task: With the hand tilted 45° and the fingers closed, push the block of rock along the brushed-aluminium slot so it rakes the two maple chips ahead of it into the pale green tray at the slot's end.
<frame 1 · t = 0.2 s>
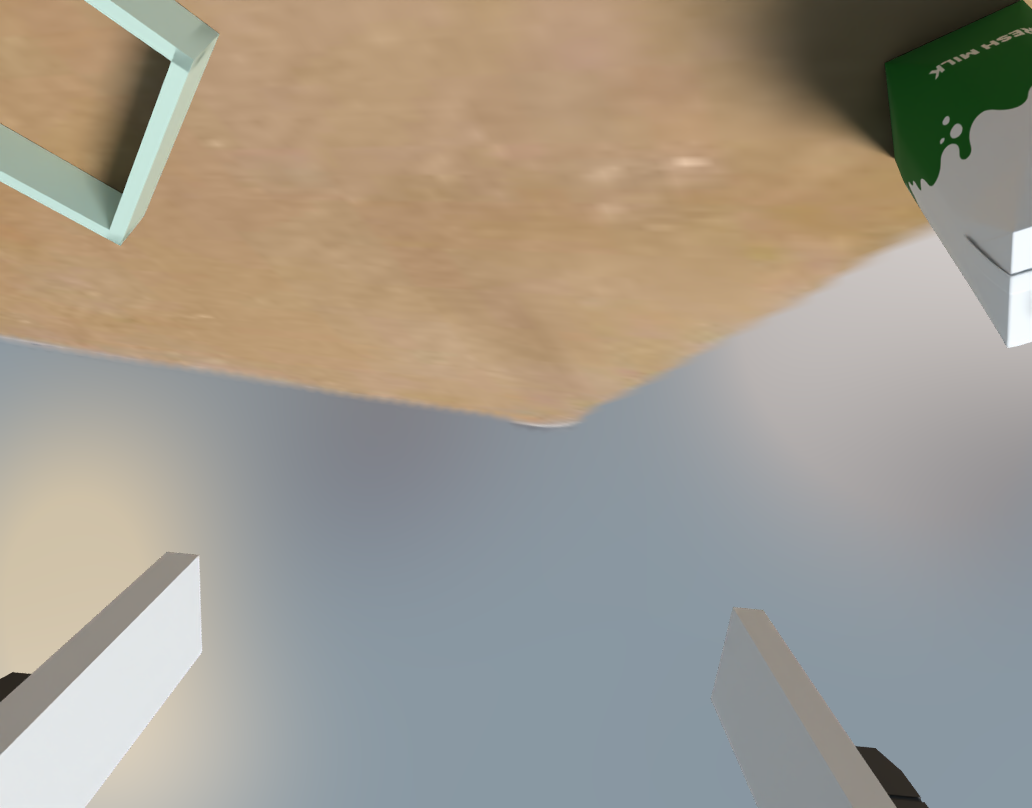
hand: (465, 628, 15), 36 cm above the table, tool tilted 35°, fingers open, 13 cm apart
tray pen: (69, 67, 40), on the table
milk carton: (950, 84, 37), on the table
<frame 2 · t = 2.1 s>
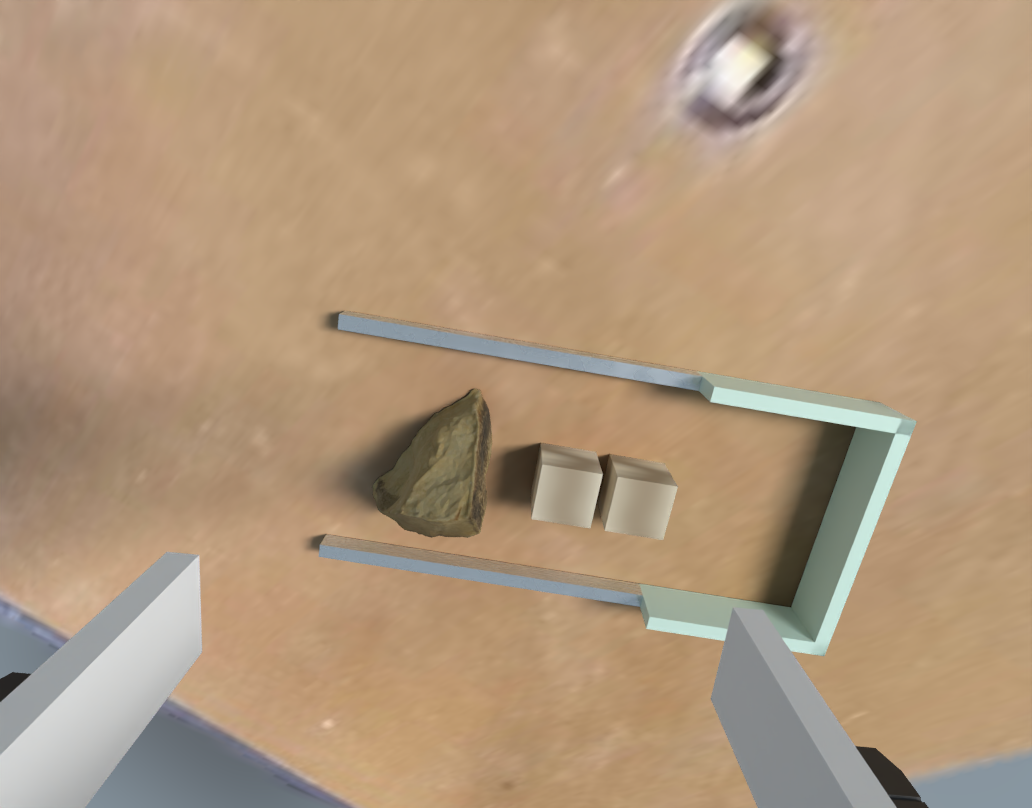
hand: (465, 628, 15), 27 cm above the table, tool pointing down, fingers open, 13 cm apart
tray pen: (744, 502, 43), on the table
slot rails: (501, 462, 43), on the table
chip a: (562, 472, 43), on the table
rock: (432, 450, 43), on the table
chip b: (630, 483, 43), on the table
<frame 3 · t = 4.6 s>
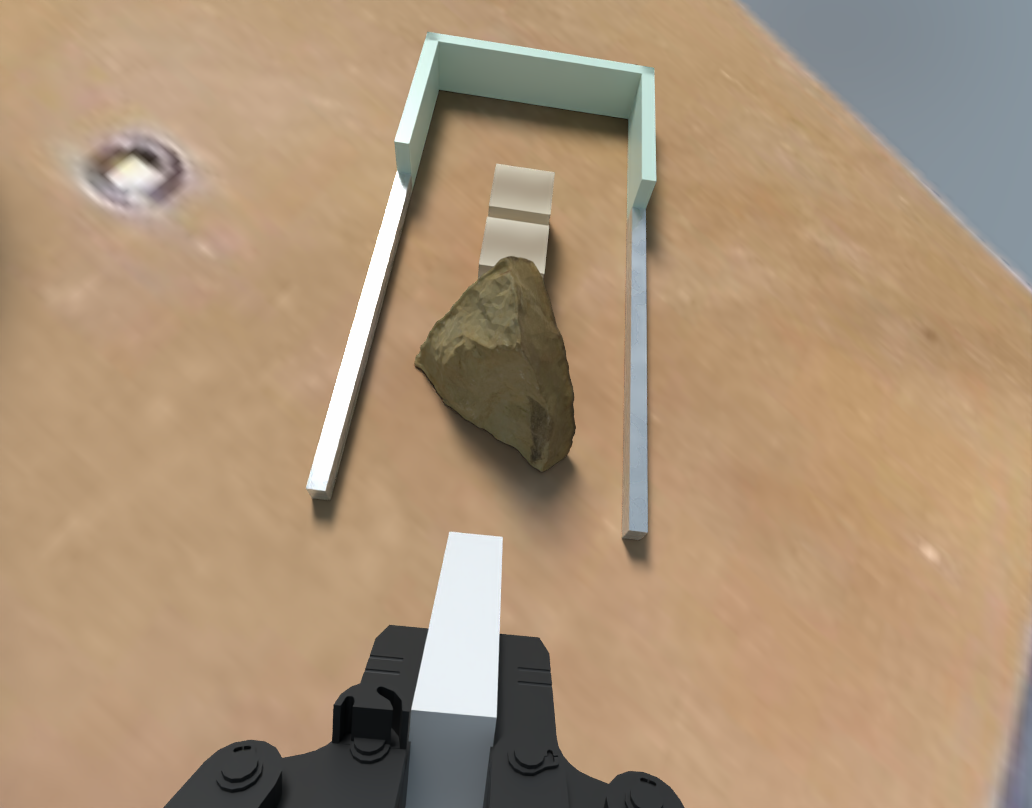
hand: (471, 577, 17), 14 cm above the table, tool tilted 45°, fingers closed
tray pen: (527, 152, 47), on the table
slot rails: (502, 339, 38), on the table
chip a: (509, 286, 40), on the table
rock: (493, 410, 36), on the table
chip b: (516, 232, 43), on the table
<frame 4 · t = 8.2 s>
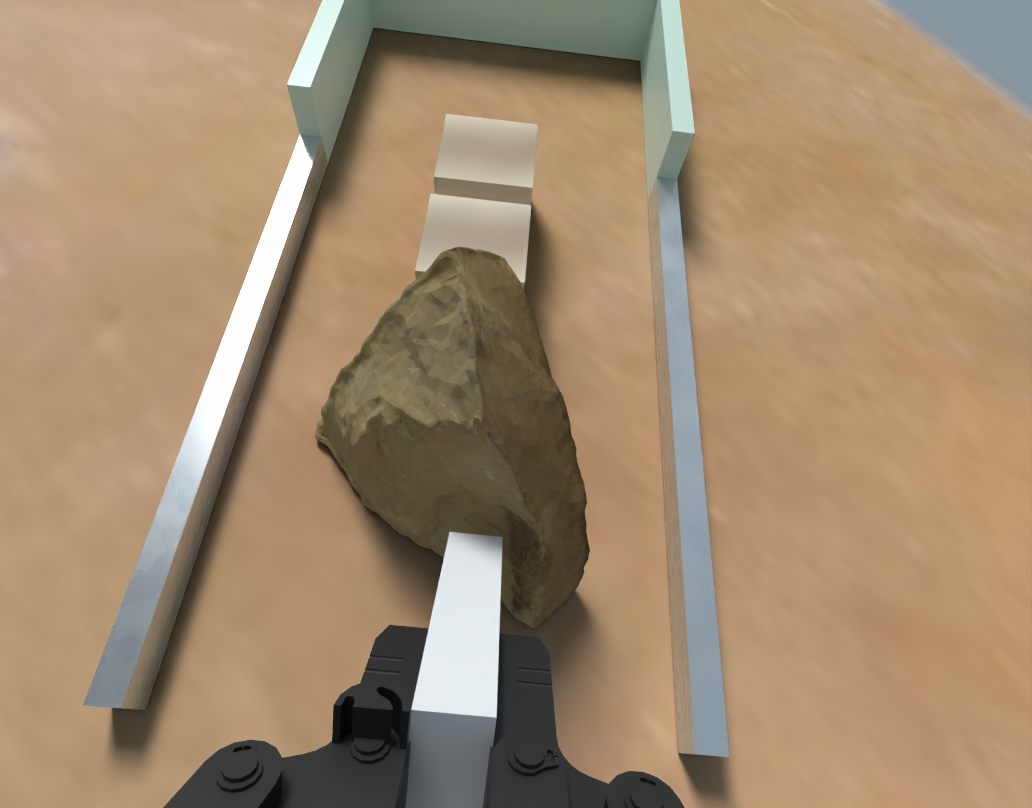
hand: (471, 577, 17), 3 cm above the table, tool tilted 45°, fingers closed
tray pen: (499, 107, 33), on the table
slot rails: (461, 389, 24), on the table
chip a: (473, 302, 26), on the table
rock: (447, 511, 22), on the table, touching gripper
chip b: (484, 220, 29), on the table
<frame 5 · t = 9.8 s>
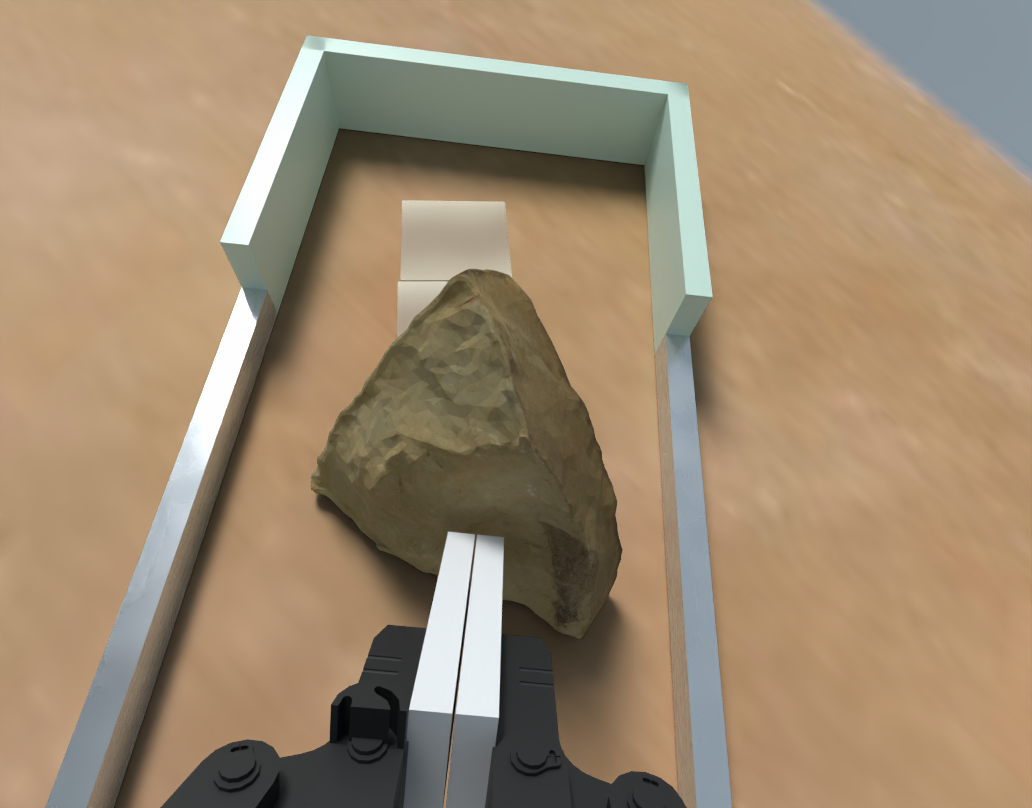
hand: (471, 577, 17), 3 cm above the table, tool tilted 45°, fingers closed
tray pen: (482, 230, 28), on the table
slot rails: (428, 634, 19), on the table
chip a: (456, 385, 24), on the table, touching rock
rock: (465, 540, 21), on the table, touching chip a, gripper
chip b: (455, 305, 26), on the table
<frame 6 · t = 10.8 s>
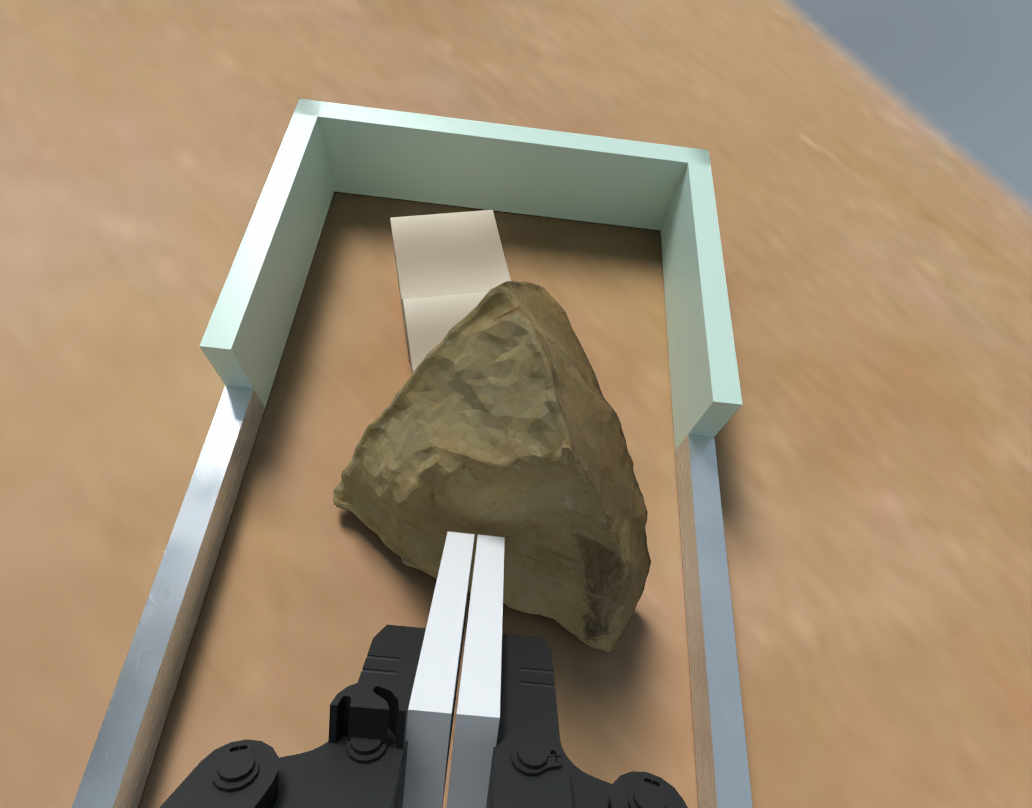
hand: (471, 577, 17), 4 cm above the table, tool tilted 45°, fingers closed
tray pen: (487, 308, 26), on the table
slot rails: (429, 798, 17), on the table
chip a: (466, 397, 24), on the table, touching rock
rock: (489, 554, 21), on the table, touching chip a, gripper
chip b: (450, 317, 26), on the table
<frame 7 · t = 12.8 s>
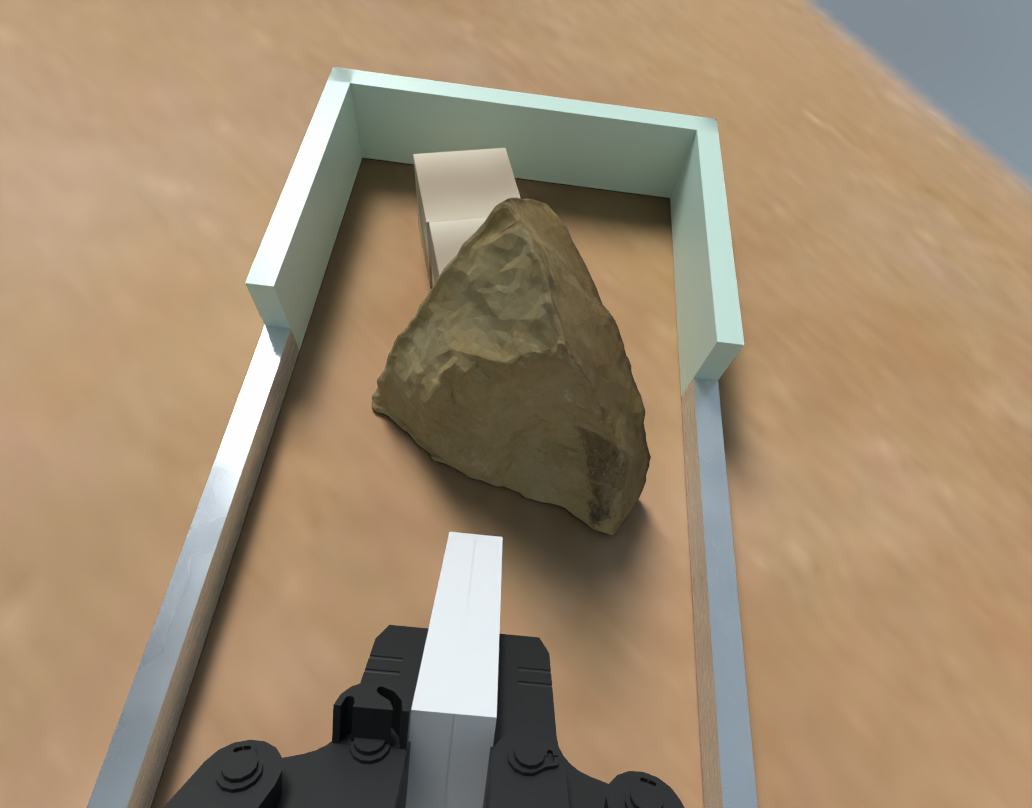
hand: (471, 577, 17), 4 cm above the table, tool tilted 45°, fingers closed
tray pen: (506, 265, 28), on the table
slot rails: (451, 691, 19), on the table
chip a: (484, 318, 26), on the table
rock: (508, 453, 23), on the table
chip b: (466, 251, 28), on the table
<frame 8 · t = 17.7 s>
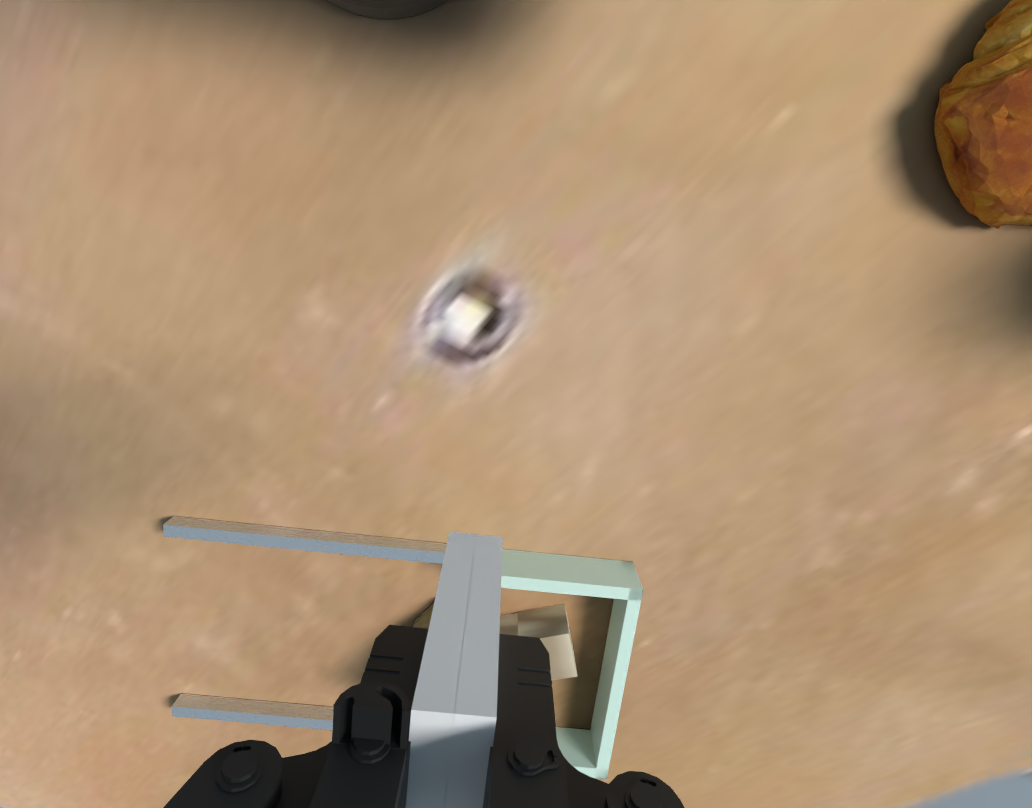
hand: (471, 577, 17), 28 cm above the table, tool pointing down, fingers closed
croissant: (1026, 116, 40), on the table
tray pen: (534, 647, 51), on the table
slot rails: (322, 627, 50), on the table
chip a: (499, 636, 51), on the table
chip b: (545, 627, 50), on the table
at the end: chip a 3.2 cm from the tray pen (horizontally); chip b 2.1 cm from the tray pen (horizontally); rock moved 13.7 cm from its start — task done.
